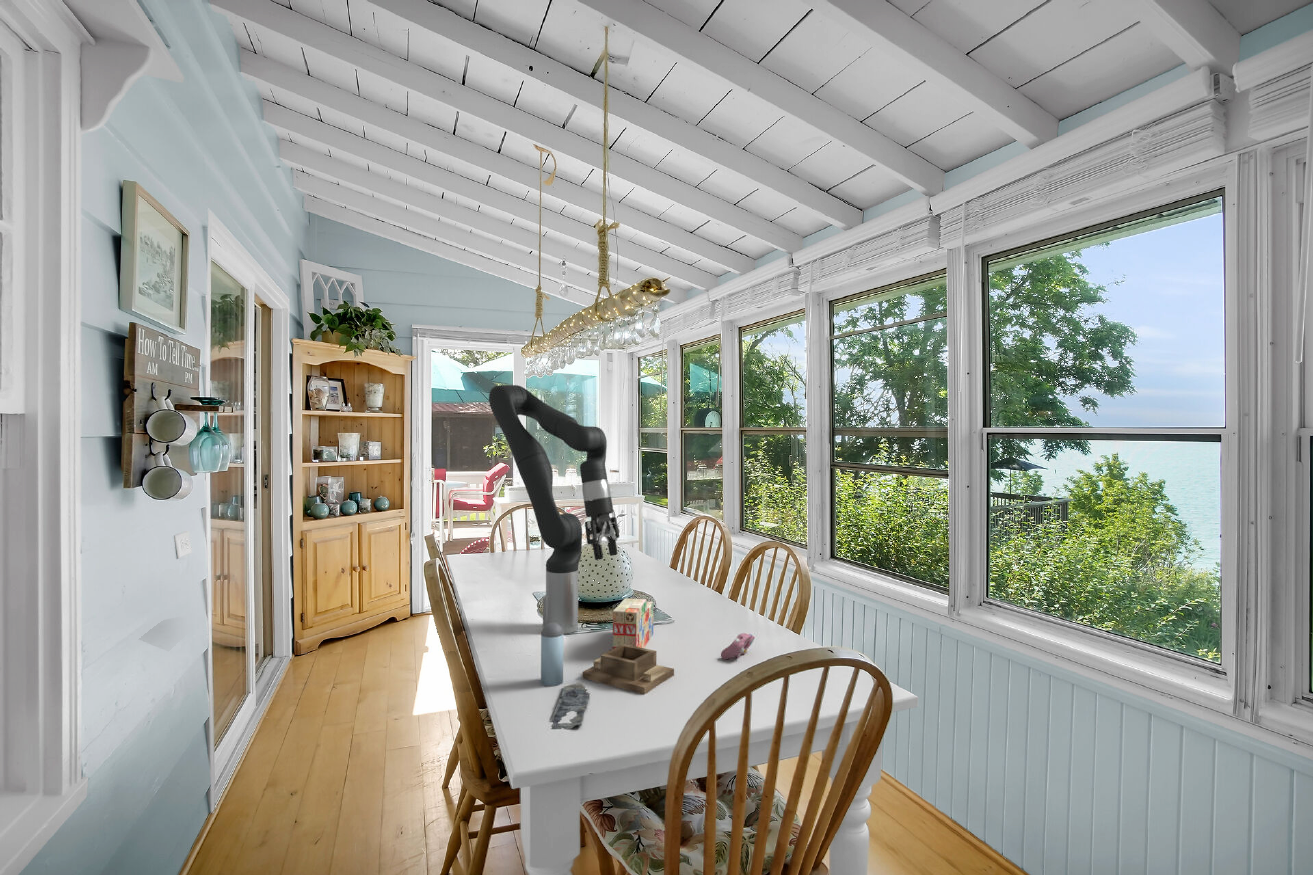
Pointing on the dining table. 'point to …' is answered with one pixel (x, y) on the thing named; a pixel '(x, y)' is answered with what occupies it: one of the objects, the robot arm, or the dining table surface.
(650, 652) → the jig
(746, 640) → the video game controller
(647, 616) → the stack of blocks
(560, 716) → the driftwood
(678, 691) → the dining table surface
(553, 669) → the ball on cylinder
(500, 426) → the robot arm
